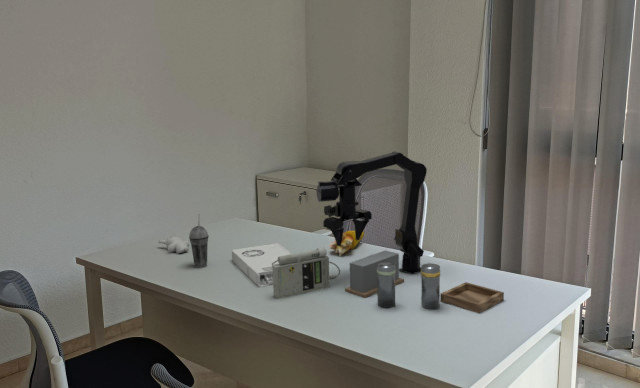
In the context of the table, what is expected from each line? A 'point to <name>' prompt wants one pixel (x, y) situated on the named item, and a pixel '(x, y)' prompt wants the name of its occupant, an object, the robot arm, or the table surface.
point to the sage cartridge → (386, 284)
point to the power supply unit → (259, 262)
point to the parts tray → (472, 297)
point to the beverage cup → (199, 245)
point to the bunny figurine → (175, 244)
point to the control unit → (370, 273)
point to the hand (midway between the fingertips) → (348, 242)
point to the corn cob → (346, 242)
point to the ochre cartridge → (430, 286)
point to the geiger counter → (301, 273)
